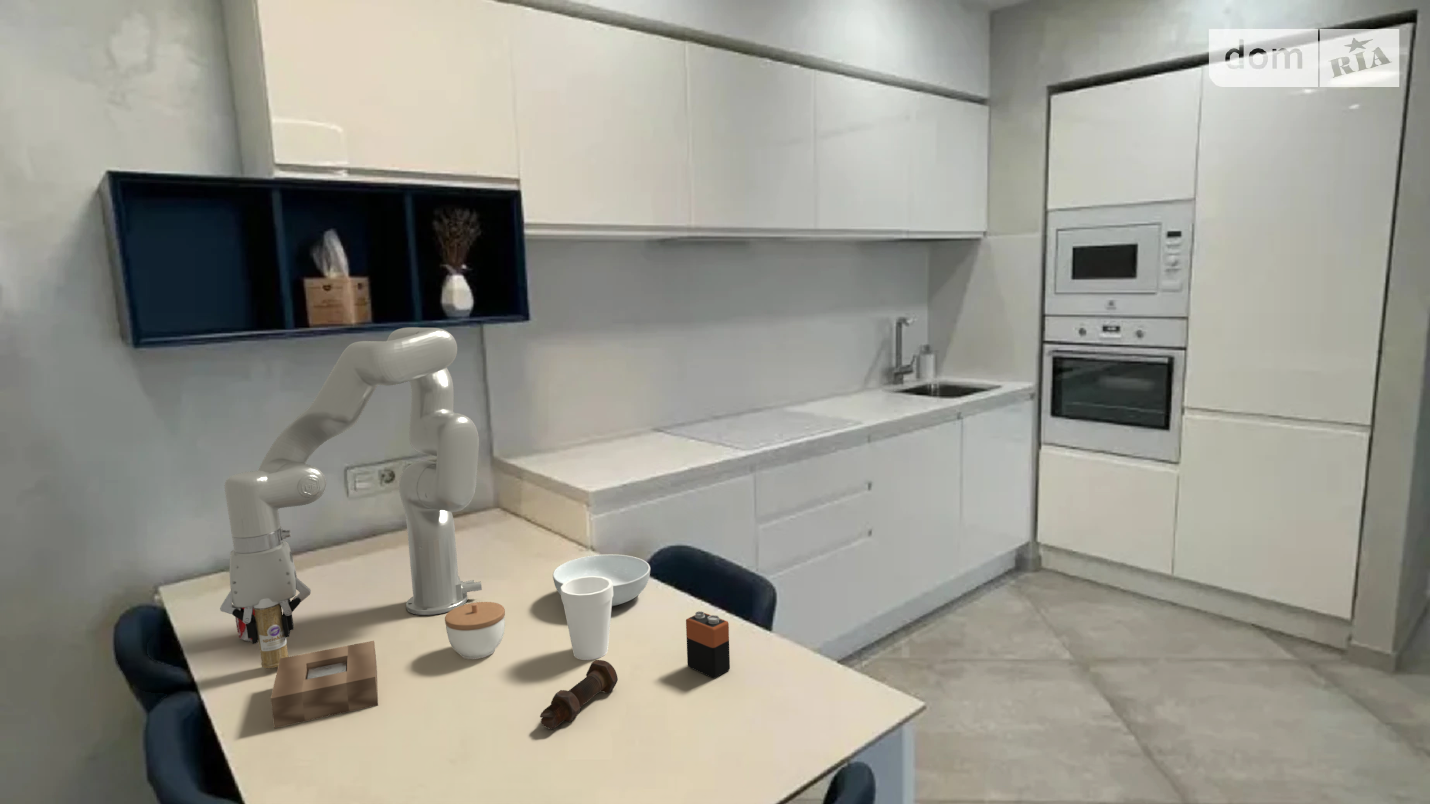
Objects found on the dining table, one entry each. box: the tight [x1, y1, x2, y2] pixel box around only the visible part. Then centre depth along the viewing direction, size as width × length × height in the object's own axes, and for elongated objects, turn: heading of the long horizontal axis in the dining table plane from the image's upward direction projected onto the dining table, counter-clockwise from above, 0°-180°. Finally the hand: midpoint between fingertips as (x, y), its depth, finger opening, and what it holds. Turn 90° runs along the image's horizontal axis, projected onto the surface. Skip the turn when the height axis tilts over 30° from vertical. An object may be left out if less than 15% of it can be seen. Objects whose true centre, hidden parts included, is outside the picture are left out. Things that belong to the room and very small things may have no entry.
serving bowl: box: [552, 553, 651, 607], centre depth 170 cm, size 21×21×7 cm
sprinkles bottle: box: [253, 598, 290, 669], centre depth 141 cm, size 5×5×14 cm
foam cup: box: [560, 576, 613, 661], centre depth 144 cm, size 10×9×13 cm
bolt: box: [539, 659, 619, 730], centre depth 125 cm, size 6×5×15 cm
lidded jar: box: [444, 601, 506, 660], centre depth 146 cm, size 11×11×9 cm
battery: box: [685, 610, 731, 679], centre depth 137 cm, size 4×7×10 cm, turn 46°
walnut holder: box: [270, 640, 379, 729], centre depth 132 cm, size 15×15×5 cm
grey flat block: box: [307, 662, 347, 679], centre depth 132 cm, size 6×6×2 cm
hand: (271, 636), depth 142 cm, fingers closed on sprinkles bottle, 4 cm apart
